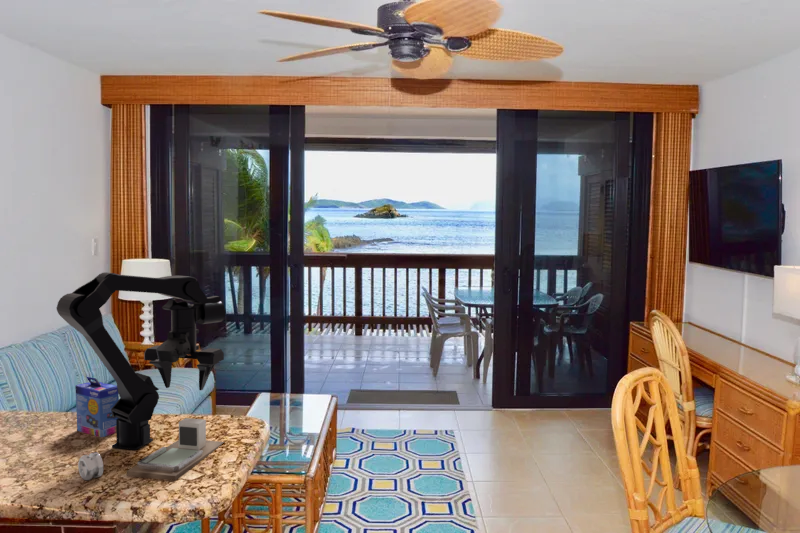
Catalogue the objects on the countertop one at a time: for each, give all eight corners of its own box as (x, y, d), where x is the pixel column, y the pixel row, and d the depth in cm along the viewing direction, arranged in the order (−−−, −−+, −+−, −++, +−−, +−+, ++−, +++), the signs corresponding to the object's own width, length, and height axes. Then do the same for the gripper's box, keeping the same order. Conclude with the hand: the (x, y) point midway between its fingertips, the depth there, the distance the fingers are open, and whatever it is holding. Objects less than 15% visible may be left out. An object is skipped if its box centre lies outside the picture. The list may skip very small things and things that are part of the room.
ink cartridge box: (75, 433, 148) (73, 375, 147) (95, 427, 153) (94, 371, 152) (100, 440, 143) (99, 381, 142) (121, 434, 148) (120, 376, 147)
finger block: (177, 448, 135) (177, 422, 135) (186, 443, 139) (185, 418, 138) (198, 450, 134) (197, 424, 134) (205, 445, 137) (205, 419, 137)
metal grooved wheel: (103, 479, 121) (103, 455, 121) (88, 484, 119) (88, 459, 119) (92, 473, 124) (91, 449, 124) (77, 477, 122) (76, 453, 122)
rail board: (126, 476, 123) (126, 470, 123) (181, 443, 142) (181, 437, 142) (175, 481, 120) (175, 475, 120) (224, 447, 140) (224, 441, 140)
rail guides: (135, 467, 124) (135, 463, 124) (163, 451, 134) (163, 446, 134) (177, 472, 122) (177, 467, 122) (202, 454, 132) (202, 450, 132)
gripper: (129, 330, 142) (130, 394, 143) (200, 333, 138) (201, 400, 139) (157, 323, 153) (158, 383, 154) (224, 326, 149) (225, 388, 150)
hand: (184, 388), depth 149 cm, fingers open, 9 cm apart
